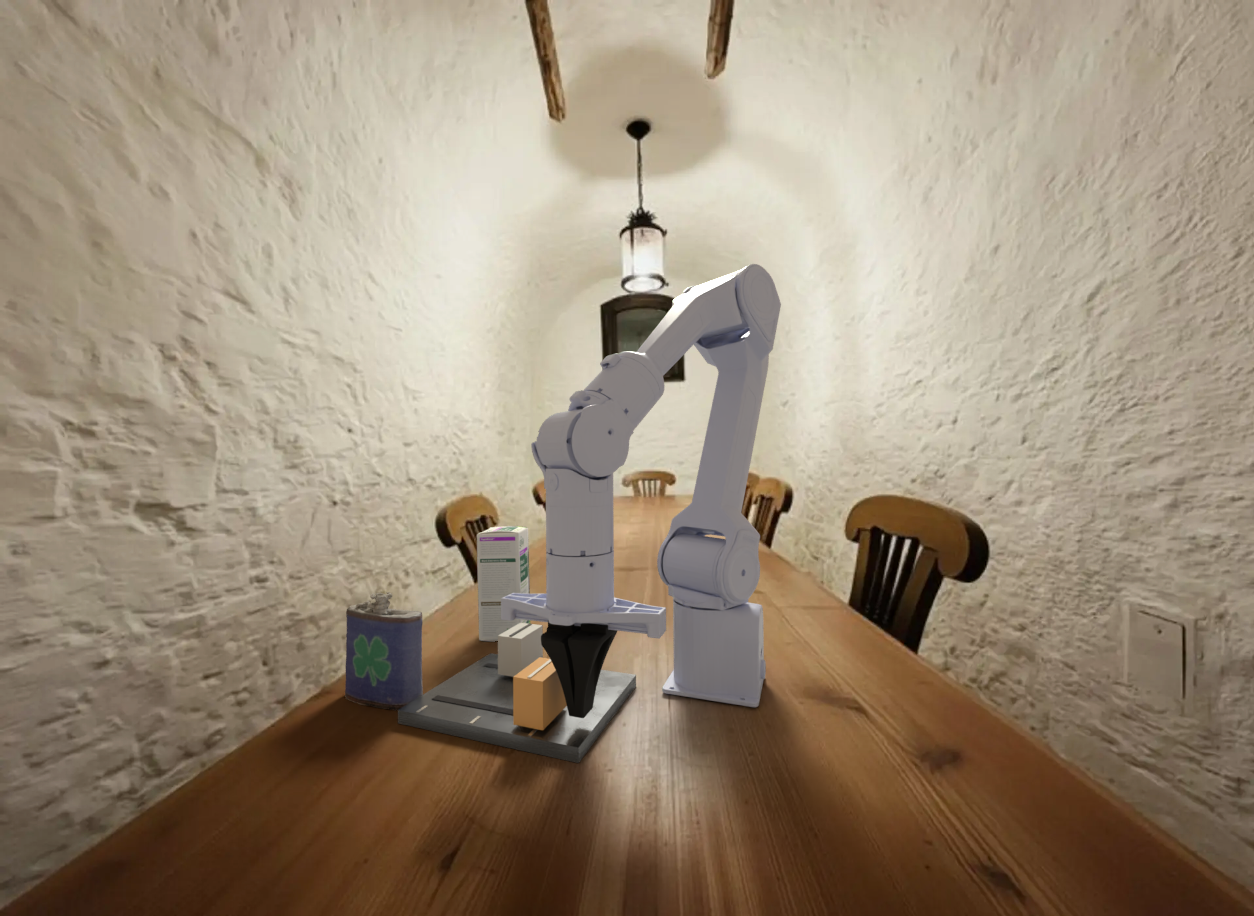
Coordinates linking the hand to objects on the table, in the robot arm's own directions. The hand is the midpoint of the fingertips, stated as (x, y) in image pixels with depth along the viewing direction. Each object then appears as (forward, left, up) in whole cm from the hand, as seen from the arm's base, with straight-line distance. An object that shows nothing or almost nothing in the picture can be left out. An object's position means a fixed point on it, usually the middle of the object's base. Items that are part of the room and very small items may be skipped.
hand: (581, 711), depth 42 cm
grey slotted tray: (+8, -4, -2) cm, 9 cm away
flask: (+22, 0, -3) cm, 22 cm away
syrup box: (+21, -20, -3) cm, 29 cm away
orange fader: (+4, 0, -1) cm, 4 cm away
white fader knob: (+11, -8, -1) cm, 13 cm away
